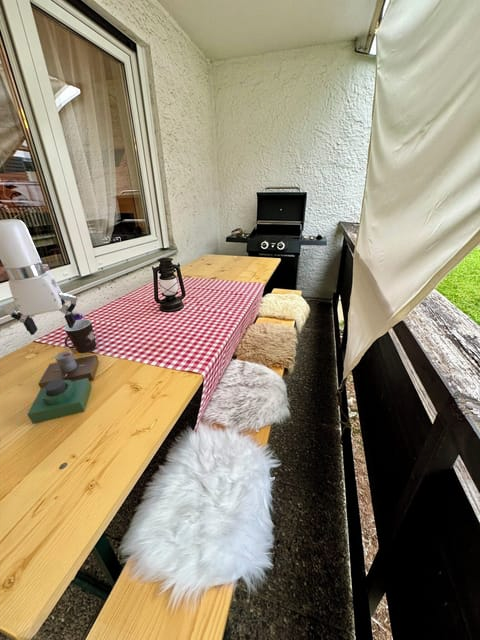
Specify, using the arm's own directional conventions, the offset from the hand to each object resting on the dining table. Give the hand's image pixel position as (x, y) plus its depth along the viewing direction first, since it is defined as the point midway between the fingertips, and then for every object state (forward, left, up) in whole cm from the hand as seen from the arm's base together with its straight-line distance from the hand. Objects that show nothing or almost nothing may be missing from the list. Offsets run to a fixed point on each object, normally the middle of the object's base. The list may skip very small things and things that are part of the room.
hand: (53, 329), depth 74 cm
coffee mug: (-1, +15, -18) cm, 23 cm away
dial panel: (-1, 0, -17) cm, 17 cm away
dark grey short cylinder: (0, -13, -12) cm, 18 cm away
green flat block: (0, -13, -17) cm, 21 cm away
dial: (-1, 0, -14) cm, 14 cm away
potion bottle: (-2, +23, -18) cm, 29 cm away
